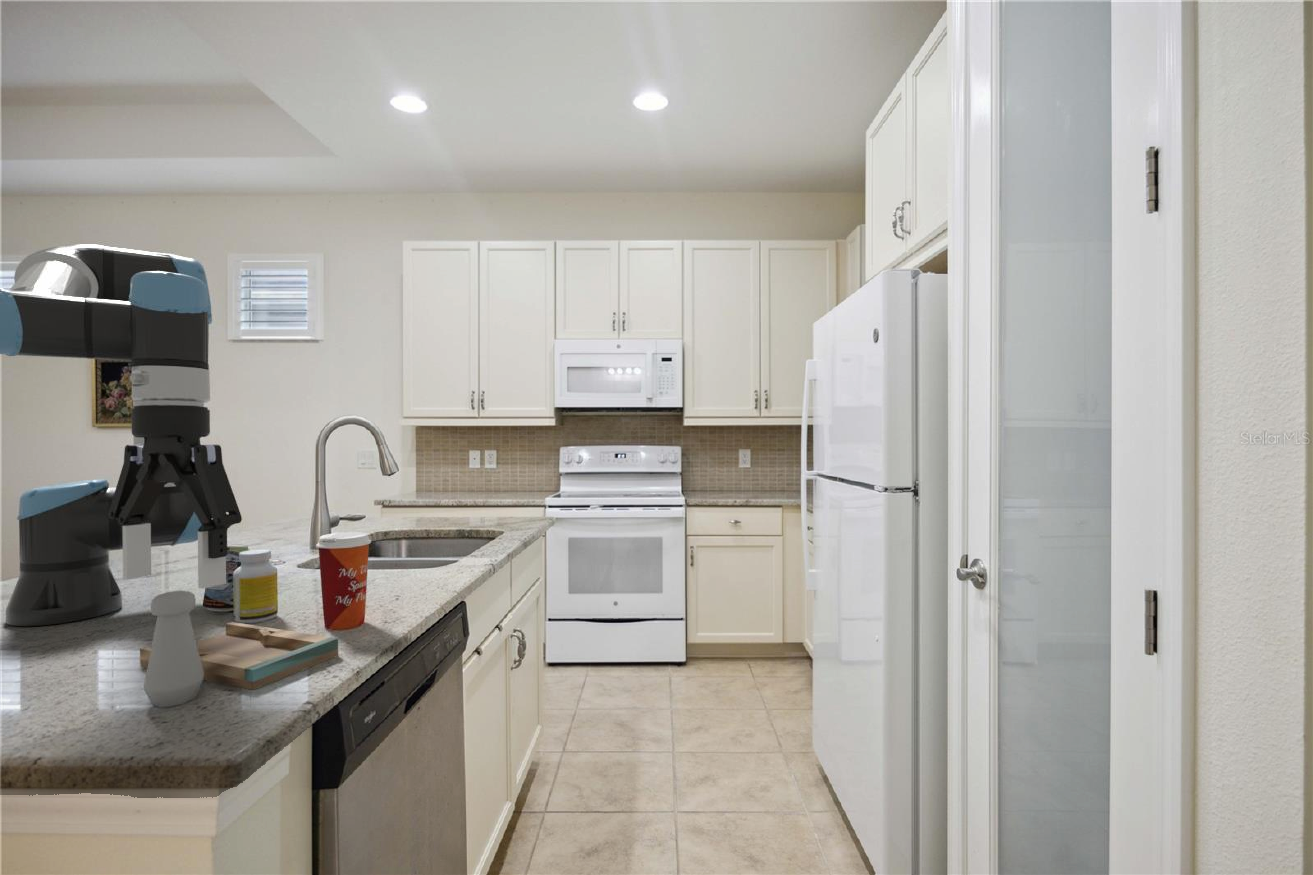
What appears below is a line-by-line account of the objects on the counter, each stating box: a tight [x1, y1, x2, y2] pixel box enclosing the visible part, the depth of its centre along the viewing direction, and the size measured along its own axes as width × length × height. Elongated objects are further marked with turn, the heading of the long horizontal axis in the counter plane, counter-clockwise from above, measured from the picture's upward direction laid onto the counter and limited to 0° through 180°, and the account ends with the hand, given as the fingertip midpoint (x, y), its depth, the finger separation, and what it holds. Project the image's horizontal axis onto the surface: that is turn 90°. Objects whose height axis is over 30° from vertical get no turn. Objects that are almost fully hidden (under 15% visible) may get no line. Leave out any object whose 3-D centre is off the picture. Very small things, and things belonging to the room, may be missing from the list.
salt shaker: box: [143, 590, 204, 708], centre depth 78 cm, size 6×6×13 cm
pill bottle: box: [233, 548, 279, 624], centre depth 111 cm, size 6×6×12 cm
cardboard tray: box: [139, 621, 339, 691], centre depth 91 cm, size 22×13×2 cm, turn 69°
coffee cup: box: [315, 531, 372, 631], centre depth 107 cm, size 8×8×15 cm
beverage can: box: [202, 543, 250, 612], centre depth 116 cm, size 6×7×12 cm
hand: (173, 581), depth 77 cm, fingers open, 13 cm apart
